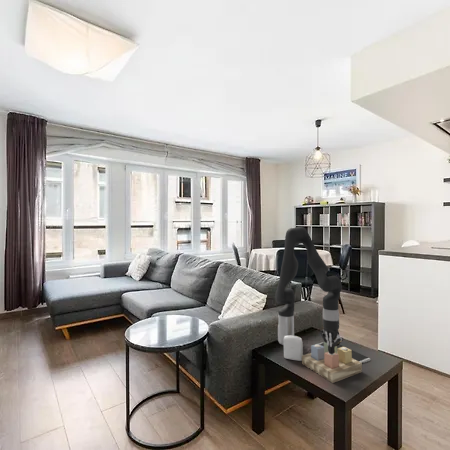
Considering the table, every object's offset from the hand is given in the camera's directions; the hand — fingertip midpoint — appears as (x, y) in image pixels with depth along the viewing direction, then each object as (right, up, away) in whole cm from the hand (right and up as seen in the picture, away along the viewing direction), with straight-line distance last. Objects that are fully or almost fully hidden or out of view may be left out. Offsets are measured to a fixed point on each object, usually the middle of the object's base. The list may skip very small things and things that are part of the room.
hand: (331, 353), depth 138 cm
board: (+2, -10, +6) cm, 12 cm away
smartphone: (+14, -11, +22) cm, 29 cm away
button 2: (+4, -6, +12) cm, 14 cm away
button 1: (-4, -6, +8) cm, 11 cm away
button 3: (0, -6, 0) cm, 6 cm away
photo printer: (-14, -11, +17) cm, 25 cm away
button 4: (+8, -6, +4) cm, 11 cm away
